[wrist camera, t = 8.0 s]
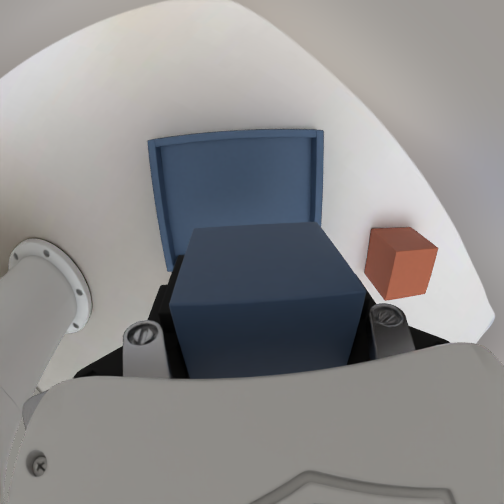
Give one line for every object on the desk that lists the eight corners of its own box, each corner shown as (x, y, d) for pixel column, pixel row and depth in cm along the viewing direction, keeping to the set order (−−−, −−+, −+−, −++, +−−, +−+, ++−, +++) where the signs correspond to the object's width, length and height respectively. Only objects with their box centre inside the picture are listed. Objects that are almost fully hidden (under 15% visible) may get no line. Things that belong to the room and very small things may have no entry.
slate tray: (171, 261, 25) (167, 272, 23) (154, 138, 20) (147, 140, 18) (312, 252, 26) (318, 262, 24) (316, 129, 21) (323, 130, 19)
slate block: (207, 323, 13) (200, 410, 9) (193, 227, 11) (167, 304, 6) (308, 316, 13) (336, 398, 9) (316, 221, 11) (367, 290, 7)
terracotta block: (364, 273, 27) (384, 300, 23) (371, 228, 25) (396, 251, 20) (402, 268, 27) (425, 293, 23) (410, 227, 25) (438, 248, 21)
